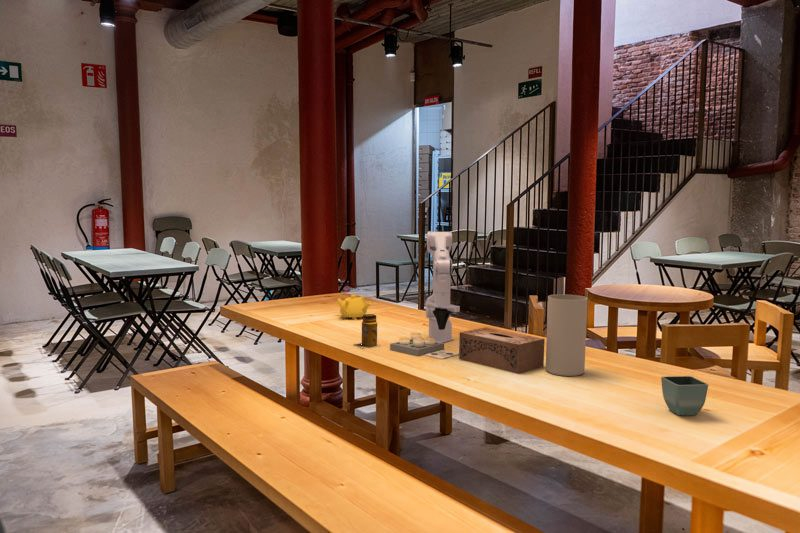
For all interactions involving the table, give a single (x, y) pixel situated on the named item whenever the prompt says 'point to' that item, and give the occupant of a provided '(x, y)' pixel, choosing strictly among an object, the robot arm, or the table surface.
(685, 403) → the flower pot
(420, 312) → the table surface
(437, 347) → the board
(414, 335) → the button
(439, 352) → the card
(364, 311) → the teapot
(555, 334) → the cylinder vase
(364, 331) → the condiment
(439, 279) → the robot arm
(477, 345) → the tissue box cover
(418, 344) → the button
